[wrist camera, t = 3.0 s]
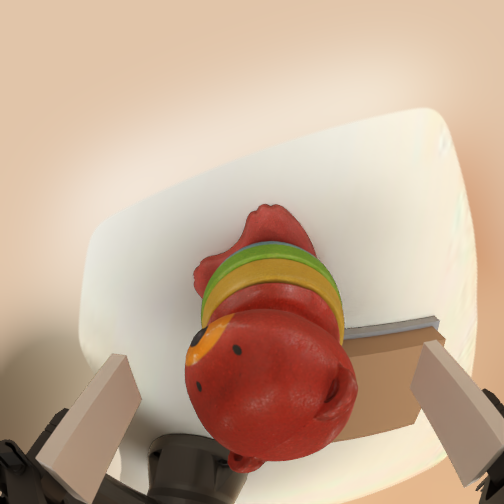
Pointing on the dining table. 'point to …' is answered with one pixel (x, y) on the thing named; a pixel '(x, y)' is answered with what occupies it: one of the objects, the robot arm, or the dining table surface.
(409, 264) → the dining table surface
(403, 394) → the board
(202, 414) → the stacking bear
